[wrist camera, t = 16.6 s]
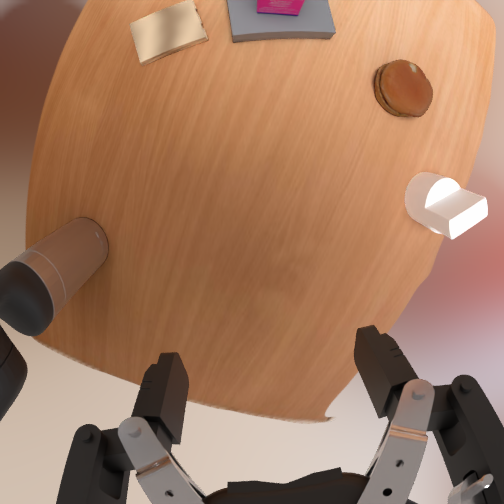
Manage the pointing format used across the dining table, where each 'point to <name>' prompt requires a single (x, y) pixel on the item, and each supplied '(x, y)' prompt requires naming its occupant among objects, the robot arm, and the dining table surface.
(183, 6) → the block
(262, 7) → the supplement box
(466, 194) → the cylinder with rectangular tab
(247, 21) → the dock
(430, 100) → the burger
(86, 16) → the dining table surface
